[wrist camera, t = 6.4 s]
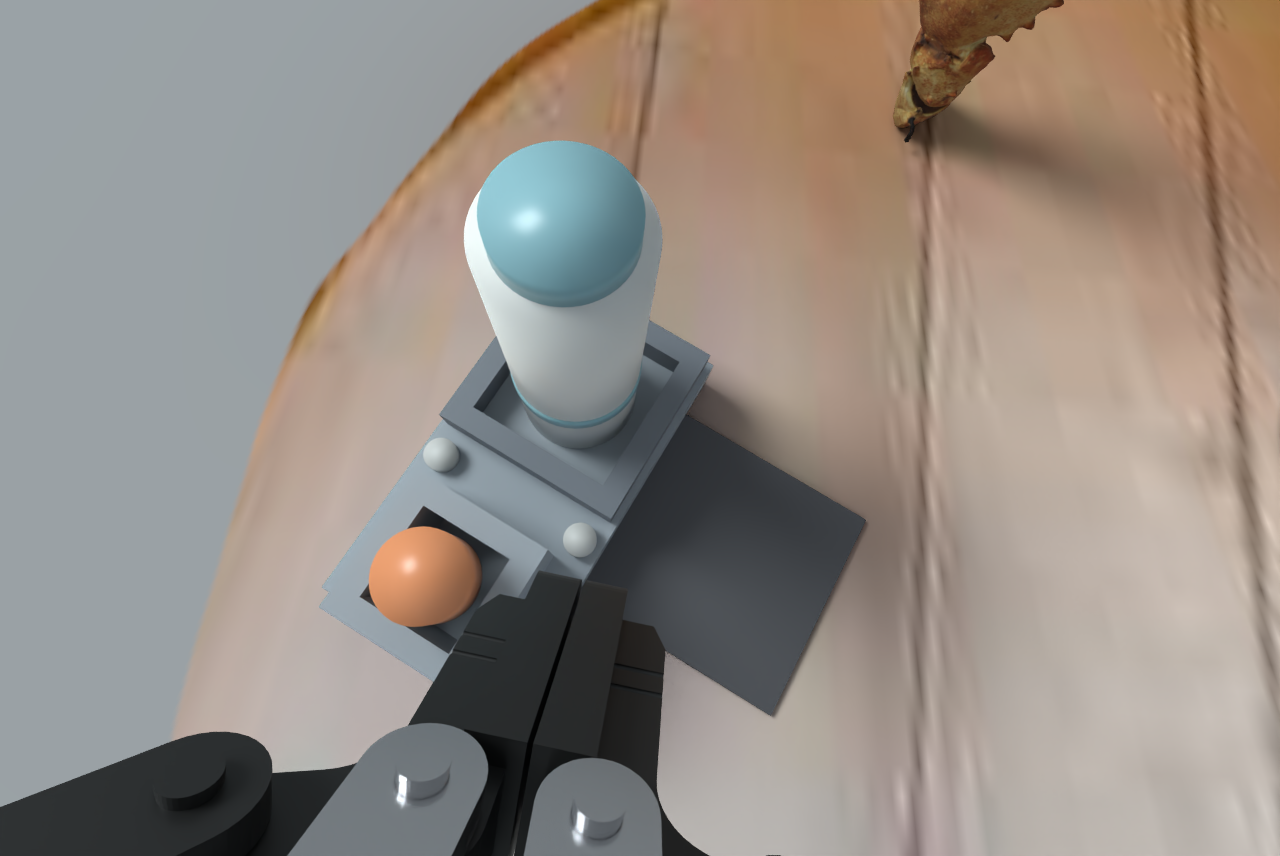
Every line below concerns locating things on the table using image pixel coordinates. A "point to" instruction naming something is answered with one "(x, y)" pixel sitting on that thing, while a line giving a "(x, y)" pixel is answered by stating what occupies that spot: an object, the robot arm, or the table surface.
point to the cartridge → (567, 284)
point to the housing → (515, 492)
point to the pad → (728, 561)
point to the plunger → (424, 577)
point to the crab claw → (956, 50)
